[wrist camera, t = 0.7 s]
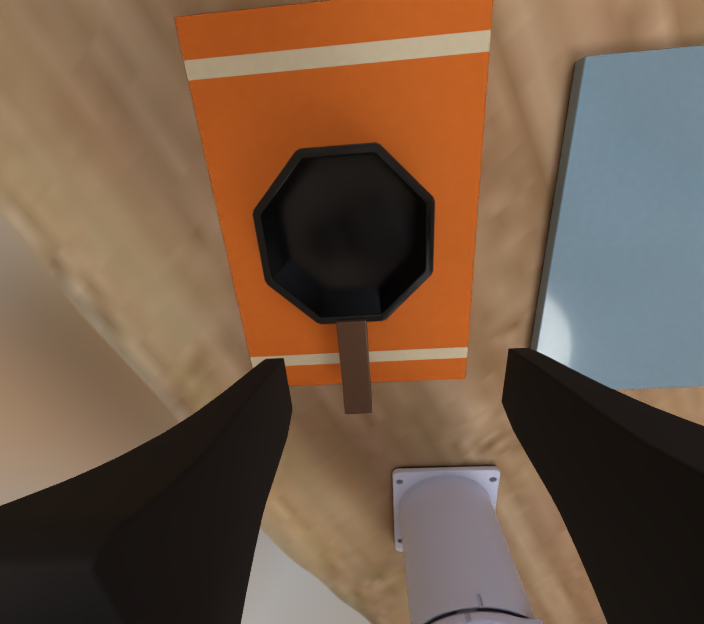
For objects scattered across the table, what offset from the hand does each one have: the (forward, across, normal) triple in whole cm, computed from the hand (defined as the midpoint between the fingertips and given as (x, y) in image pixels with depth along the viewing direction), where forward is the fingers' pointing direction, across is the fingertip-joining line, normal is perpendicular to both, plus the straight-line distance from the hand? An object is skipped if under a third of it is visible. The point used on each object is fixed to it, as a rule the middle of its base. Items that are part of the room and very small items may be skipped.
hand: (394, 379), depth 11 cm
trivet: (+10, -16, -1) cm, 19 cm away
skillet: (+10, +2, 0) cm, 10 cm away
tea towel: (+10, +2, -3) cm, 11 cm away
